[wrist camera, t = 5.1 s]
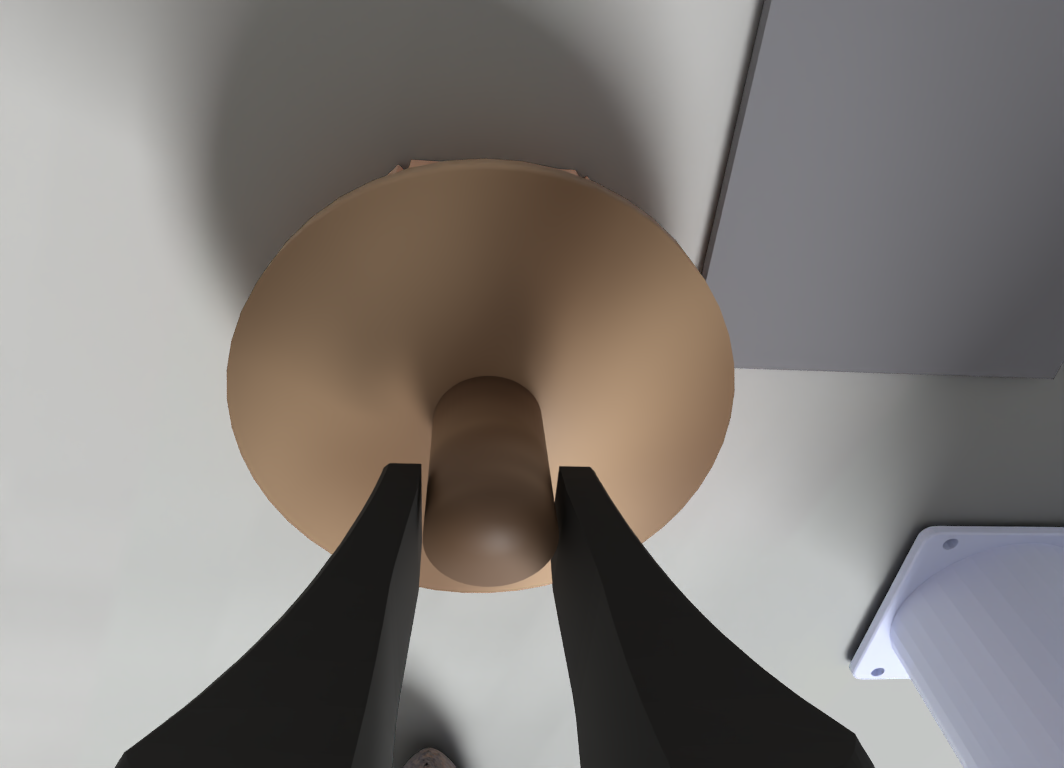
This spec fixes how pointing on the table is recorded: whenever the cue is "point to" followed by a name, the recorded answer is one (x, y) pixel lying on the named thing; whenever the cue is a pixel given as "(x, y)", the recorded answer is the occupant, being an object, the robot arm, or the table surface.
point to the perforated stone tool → (429, 759)
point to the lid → (480, 364)
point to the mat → (897, 190)
